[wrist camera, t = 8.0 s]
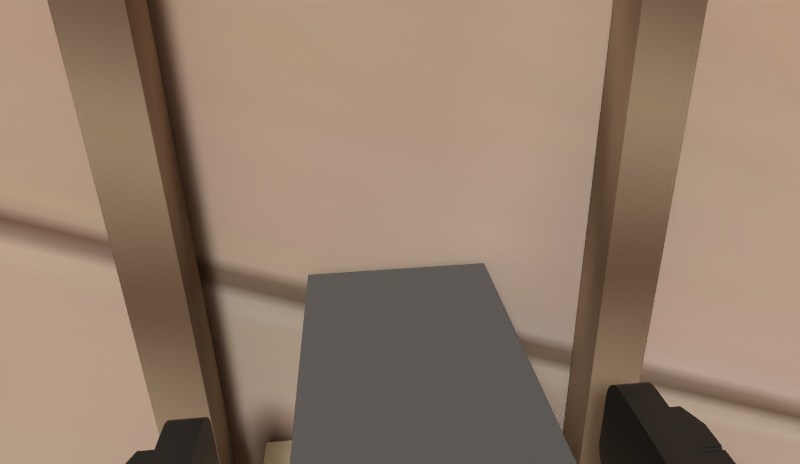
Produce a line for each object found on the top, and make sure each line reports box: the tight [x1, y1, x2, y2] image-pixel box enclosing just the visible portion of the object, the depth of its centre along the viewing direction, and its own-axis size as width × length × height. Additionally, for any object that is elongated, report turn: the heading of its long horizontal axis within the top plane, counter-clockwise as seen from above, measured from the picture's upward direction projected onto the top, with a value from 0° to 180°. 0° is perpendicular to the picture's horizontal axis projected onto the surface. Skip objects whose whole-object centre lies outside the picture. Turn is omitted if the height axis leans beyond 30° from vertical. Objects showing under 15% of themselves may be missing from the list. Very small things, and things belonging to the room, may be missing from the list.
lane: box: [48, 0, 708, 464], centre depth 13 cm, size 17×11×1 cm, turn 2°
